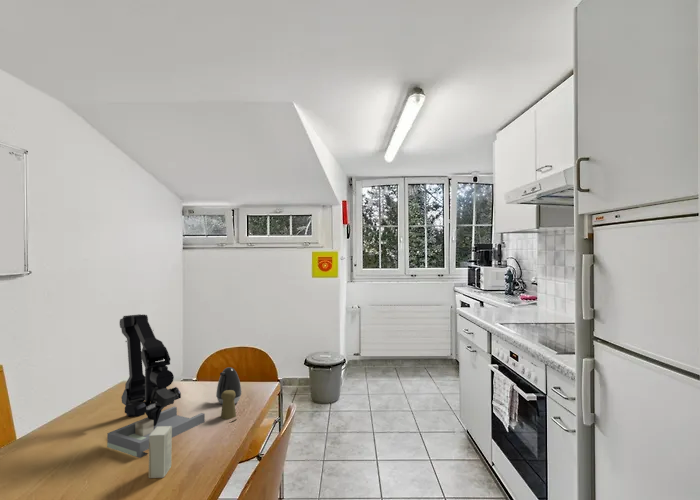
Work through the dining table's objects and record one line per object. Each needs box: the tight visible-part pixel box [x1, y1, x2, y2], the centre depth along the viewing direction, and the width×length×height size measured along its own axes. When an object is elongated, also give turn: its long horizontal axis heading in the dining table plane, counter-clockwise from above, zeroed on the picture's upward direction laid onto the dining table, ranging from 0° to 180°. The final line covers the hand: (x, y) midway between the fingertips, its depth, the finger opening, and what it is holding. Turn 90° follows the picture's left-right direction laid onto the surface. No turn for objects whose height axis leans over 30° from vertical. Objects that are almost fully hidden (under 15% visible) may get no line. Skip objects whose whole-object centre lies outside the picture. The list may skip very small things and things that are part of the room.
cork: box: [220, 390, 237, 424], centre depth 153 cm, size 6×6×11 cm
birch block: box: [134, 417, 154, 436], centre depth 138 cm, size 4×4×4 cm
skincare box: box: [148, 426, 173, 479], centre depth 116 cm, size 6×4×12 cm
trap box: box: [106, 406, 206, 459], centre depth 139 cm, size 16×26×4 cm, turn 154°
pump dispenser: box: [215, 366, 242, 405], centre depth 170 cm, size 10×10×15 cm
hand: (154, 425), depth 142 cm, fingers closed
